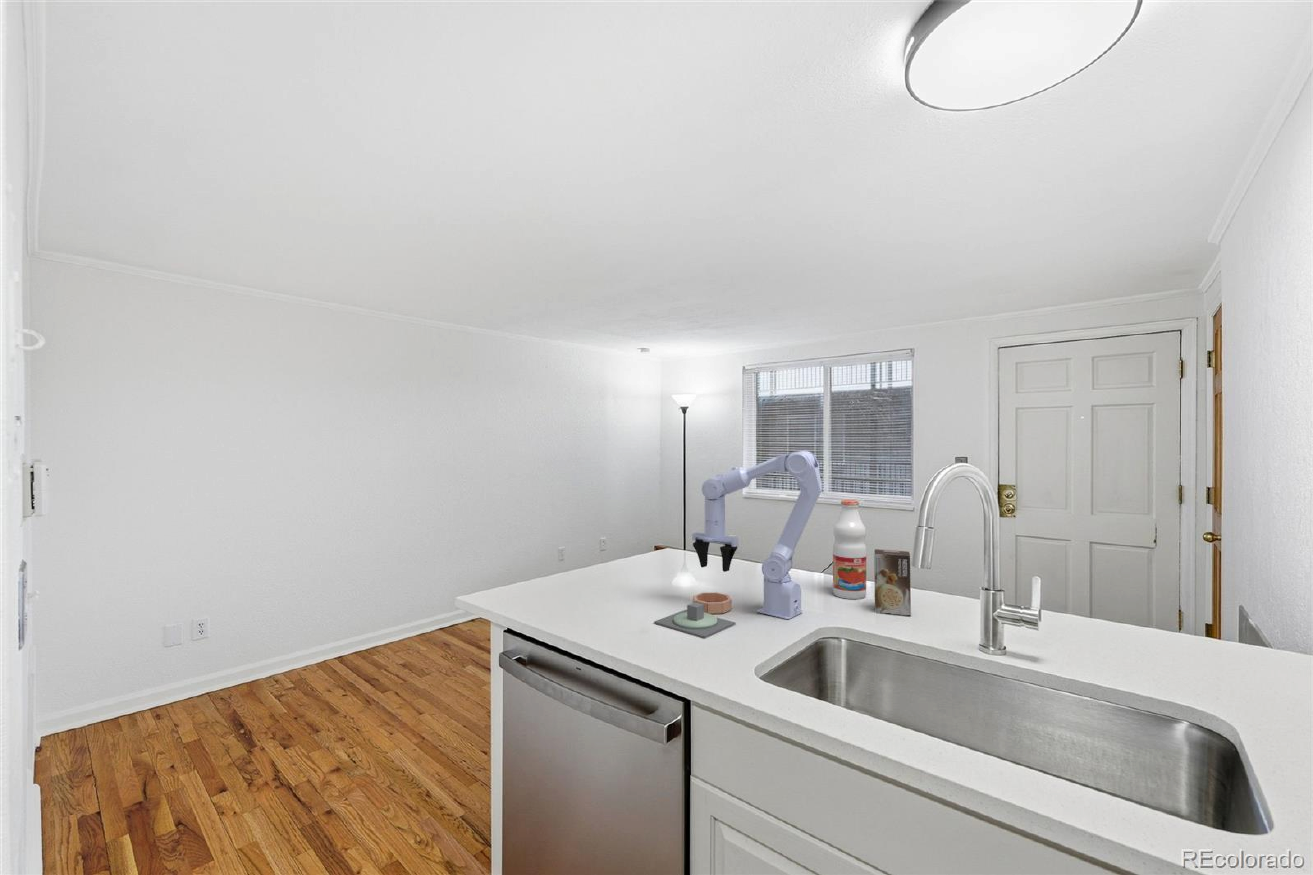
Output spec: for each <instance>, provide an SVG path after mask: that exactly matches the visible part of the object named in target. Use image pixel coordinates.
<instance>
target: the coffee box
mask: <svg viewBox="0 0 1313 875" xmlns="http://www.w3.org/2000/svg"><path fill="white" fill-rule="evenodd" d="M873 557H874V558H873V559H874V561H873V562H874V565H873V566H874V613H875V612H882V613H881V614H884V613H891V614H890V615H893V614H903V615H911V616H912V604H911V601H912V600H911V599H912V598H911V597H912V596H911V594H912V591H911V589H912V588H911V584H912V583H911V553H910V551H905V550H893V549H890V550H889V549H878V548H877V549H874V556H873ZM903 615H902V616H903Z"/></svg>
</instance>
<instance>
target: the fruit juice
mask: <svg viewBox="0 0 1313 875" xmlns="http://www.w3.org/2000/svg"><path fill="white" fill-rule="evenodd" d="M859 504H860V503H859V501H858V500H856V499H855V500H854V499H843V500H840V507H841V511H840V514H839V515H838V516H839V517H838V518H837V520H836V522H835V524H834V526H833V536H834V542H833V547H832V593H833V595H834V596H835V595H836V597H838V598H841V599H848V600H861V599H864V598H865V597H866V595H867V546H866V544H865V539H866V536H867V528H866V526H865V525H864V523H863V521H862V518H861V516H860V513H859V510H858V507H859Z"/></svg>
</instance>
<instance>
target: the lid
mask: <svg viewBox="0 0 1313 875" xmlns="http://www.w3.org/2000/svg"><path fill="white" fill-rule="evenodd" d="M686 610H687V612H685V613H680V614H678V615H676V616H675V617H674V623H675V624H676V625H677V626H680V627H683V628H688V629H705V628H710V627H713V626H715V625H716V624H717V618H718V617H717V616H716V615H715V614H709V613H704V605H703V604H699V603H695V602H694V603H693V602H692V603H689V604H687V605H686Z"/></svg>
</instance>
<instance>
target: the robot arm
mask: <svg viewBox="0 0 1313 875" xmlns="http://www.w3.org/2000/svg"><path fill="white" fill-rule="evenodd" d="M815 456H816V455H814V454H813V452H811V451H808V450H805V449H803V450H799V451H794V452H791V453H787V454H783V455H779V456H775V457H773V458H770V459H768V460H766V461H764V462H761V463H759V464H756V465H753V466H752V467H749V468H745V467H743V466H739V467H738V466H733V467H732V468H731V470H729V471H726V472H724V473H723V474H722V472H721V473H717V474H716V477H710V478H707V480H705V481H704V482H703V484H702V485H701V493H702V495H703V497H704V533H703V532H702V533H701V532H694V533H692V537H691V538H692V539H691V540H692V541H694V542H693V543H692V547H693V548H694V550H695V551H696V554H697V557H698V559H699V564H700V567H701V568H705V567H707V566H708V555H709V554H708V553H709V547H710V543H711V544H715V545H716V544H717V545H723V546H720V547H719V550H720V553H721V561H722V564H721V566H722V572H723V573H725V572H729V571H730V568H731V565H732V561H733V557H734V555H735V553H736V551H737V549H738V547H739V539H738V538H735V537H731V536H727V535H726V502H725V501H726V500H725V498H726V495H730V494H732V493H735V492H737V491H740V490H742V489H745V488H747V487H749V486H750V484H751V482H752V481H753V480H754V479H757V478H760V477H763V476H766V475H768V474H770V473H771V474H772V473H774V472H781V473H787V472H788V473H789V474H790V475H791V477H793V478H794V479H795V480H796V483H797V485H798V487H799V488H800V489H799V490H800V492H799V495H798V497H797V499H796V501H795V504H794V506H793V508H792V510H791V511H790V512H791V513H790V514H789V516H788V518H787V521H786V523H785V525H784V528H783V530H782V533H781V534H780V537H779V539H778V541H777V543H776V544H775V546H774V548H773V550H772V552H771V553H770V556H769V557H768V558H766V559H765V560H764V561H763V562H762V564H761V572H762V575H763V607H761V608H759V609H757V610H756V611H757V613H760V614H764V615H768V616H773V617H776V618H781V619H785V620H789V619H793V618H794V617H796V616H798V615H801V614H802V613H803V610H802V588H801V585H800V584H799V583H798V582H795V581H793V580H792V577H791V574H790V573H789V572H790V571H791V570H792V568H793V558H794V555H795V553H796V552H795V551H796V548H797V545H798V543H799V541H800V539H801V536H802V534H803V532H804V530H805V528H806V526H807V524H808V521H809V519H810V517H811V514H812V512H813V510H814V509H815V506H816V504H817V502H818V500H819V497H820V495H821V493H822V490H823V487H822V480H821V473H820V463H819V461H818V460H817V458H816V457H815Z"/></svg>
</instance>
